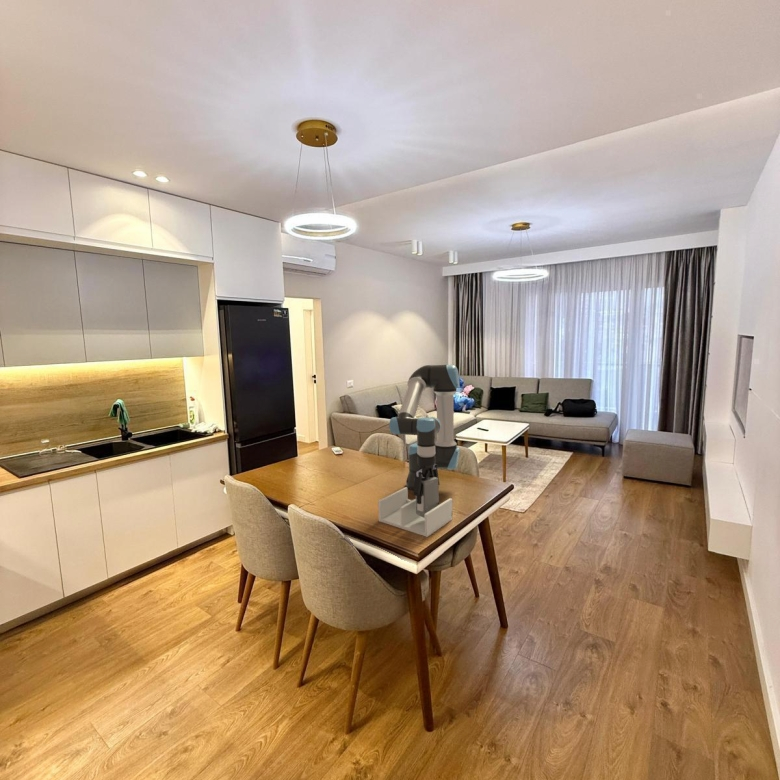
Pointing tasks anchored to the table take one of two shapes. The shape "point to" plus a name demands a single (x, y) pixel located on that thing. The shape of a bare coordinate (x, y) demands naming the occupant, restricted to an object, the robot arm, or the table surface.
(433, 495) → the skincare box
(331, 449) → the table surface
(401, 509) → the rack
